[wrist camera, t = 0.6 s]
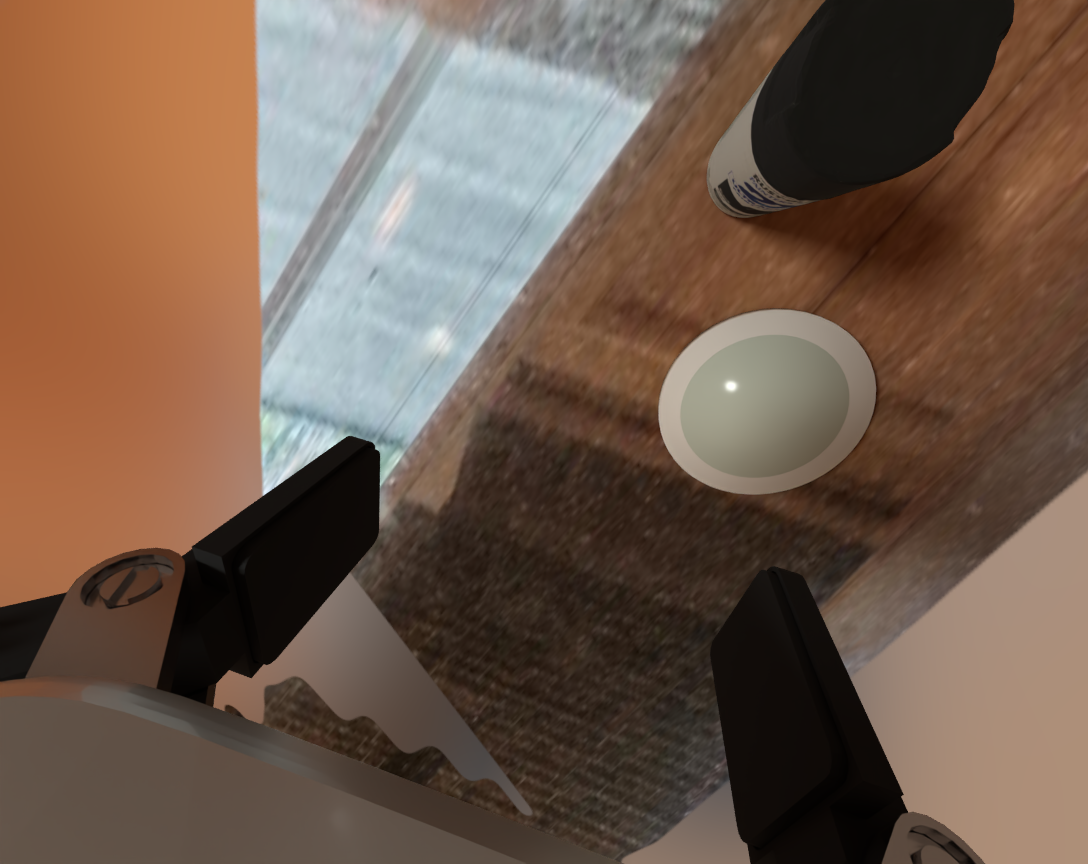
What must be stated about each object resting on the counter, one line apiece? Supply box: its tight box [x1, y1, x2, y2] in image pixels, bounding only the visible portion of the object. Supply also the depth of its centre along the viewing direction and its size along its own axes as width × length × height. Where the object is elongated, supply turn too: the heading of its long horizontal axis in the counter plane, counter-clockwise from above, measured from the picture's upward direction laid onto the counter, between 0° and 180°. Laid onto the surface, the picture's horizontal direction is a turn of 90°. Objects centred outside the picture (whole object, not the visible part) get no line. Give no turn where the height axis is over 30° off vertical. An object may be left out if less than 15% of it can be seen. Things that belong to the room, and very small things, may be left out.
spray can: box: [707, 0, 1014, 218], centre depth 22 cm, size 7×7×20 cm
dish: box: [658, 308, 876, 494], centre depth 38 cm, size 18×18×1 cm
